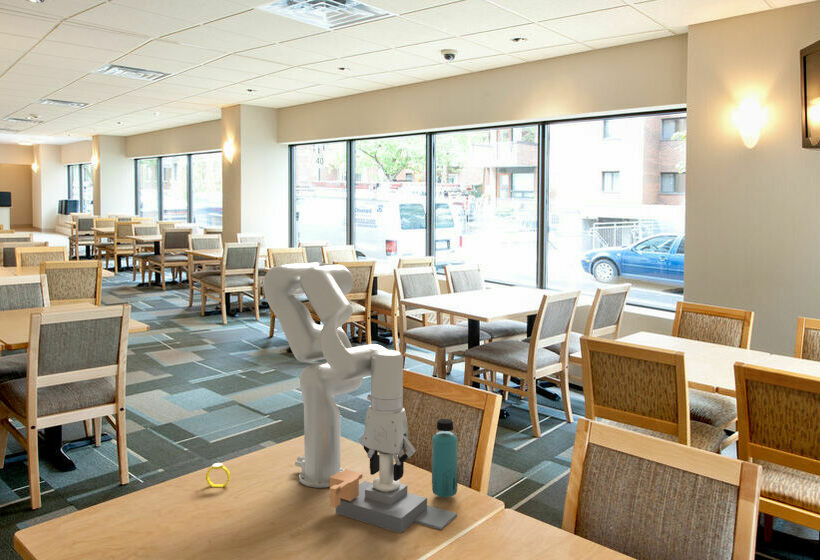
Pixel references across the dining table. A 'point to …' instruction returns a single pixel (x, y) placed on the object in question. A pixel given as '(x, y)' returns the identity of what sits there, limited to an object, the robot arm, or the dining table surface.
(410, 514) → the grey base plate
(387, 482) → the plug
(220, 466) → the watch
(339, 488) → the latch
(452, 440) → the beverage bottle
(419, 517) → the mat
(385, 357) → the robot arm
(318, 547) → the dining table surface
